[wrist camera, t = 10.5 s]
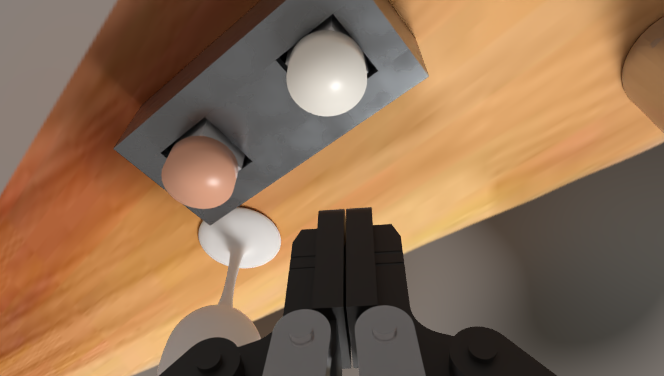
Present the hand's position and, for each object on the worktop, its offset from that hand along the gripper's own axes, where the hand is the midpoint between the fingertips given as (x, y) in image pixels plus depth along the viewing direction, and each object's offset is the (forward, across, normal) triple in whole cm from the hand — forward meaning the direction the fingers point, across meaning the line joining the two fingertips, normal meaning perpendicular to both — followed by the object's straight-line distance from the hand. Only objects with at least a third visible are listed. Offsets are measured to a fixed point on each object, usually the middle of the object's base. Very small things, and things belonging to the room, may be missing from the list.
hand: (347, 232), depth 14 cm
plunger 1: (+26, +12, +10) cm, 30 cm away
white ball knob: (+26, +2, +4) cm, 27 cm away
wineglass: (+29, +13, +25) cm, 41 cm away
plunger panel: (+29, +7, +7) cm, 30 cm away
